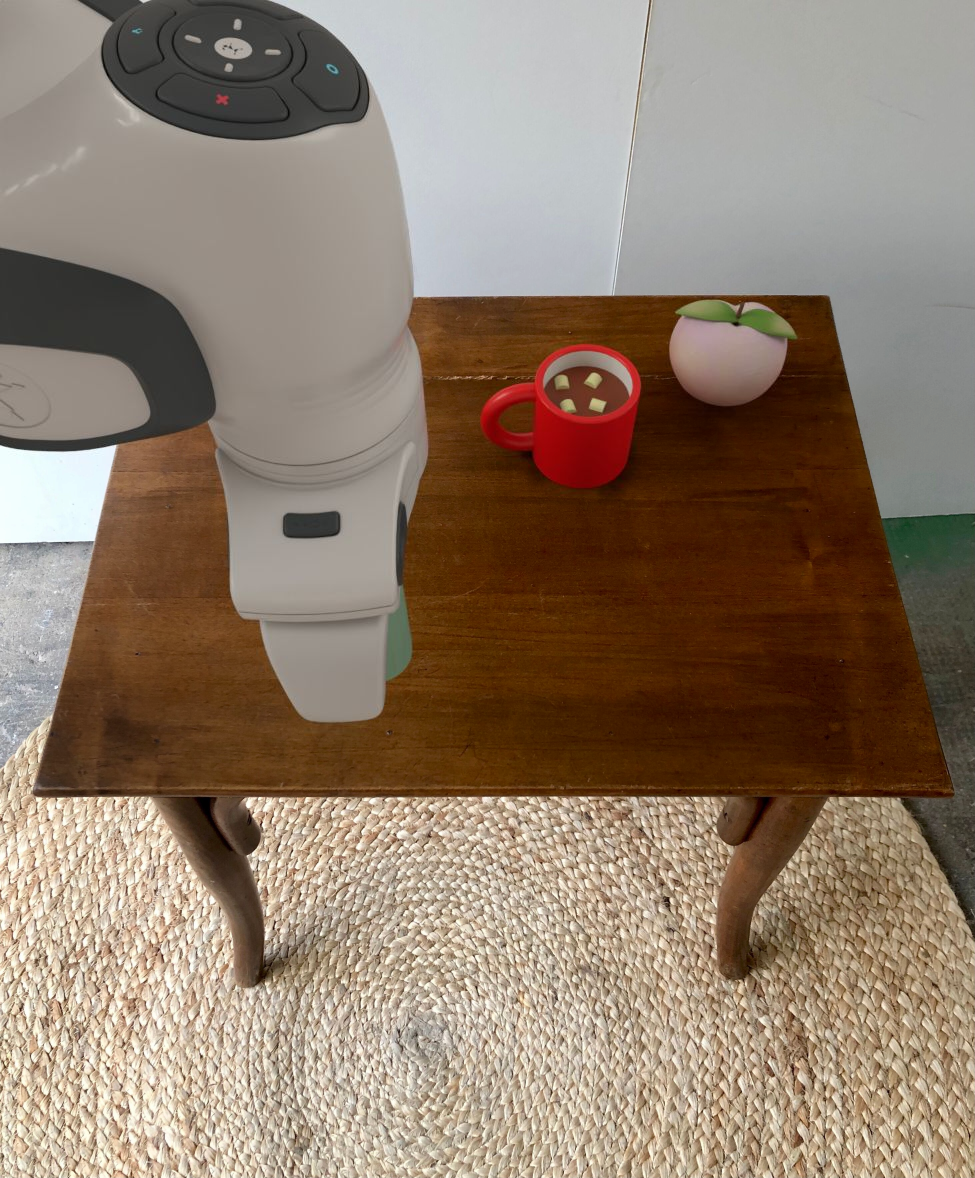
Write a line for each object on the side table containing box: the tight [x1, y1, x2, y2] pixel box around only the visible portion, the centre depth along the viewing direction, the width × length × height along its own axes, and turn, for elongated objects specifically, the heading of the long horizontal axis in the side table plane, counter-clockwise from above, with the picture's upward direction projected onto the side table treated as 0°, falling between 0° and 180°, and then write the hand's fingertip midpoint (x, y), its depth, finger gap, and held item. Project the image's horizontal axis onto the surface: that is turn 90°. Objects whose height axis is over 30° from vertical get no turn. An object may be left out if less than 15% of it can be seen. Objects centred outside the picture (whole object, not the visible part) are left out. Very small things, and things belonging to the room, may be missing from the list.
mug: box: [479, 343, 642, 489], centre depth 70 cm, size 8×12×8 cm, turn 95°
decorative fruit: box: [668, 299, 798, 407], centre depth 72 cm, size 9×8×10 cm
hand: (362, 590), depth 50 cm, fingers closed on bottle, 4 cm apart
